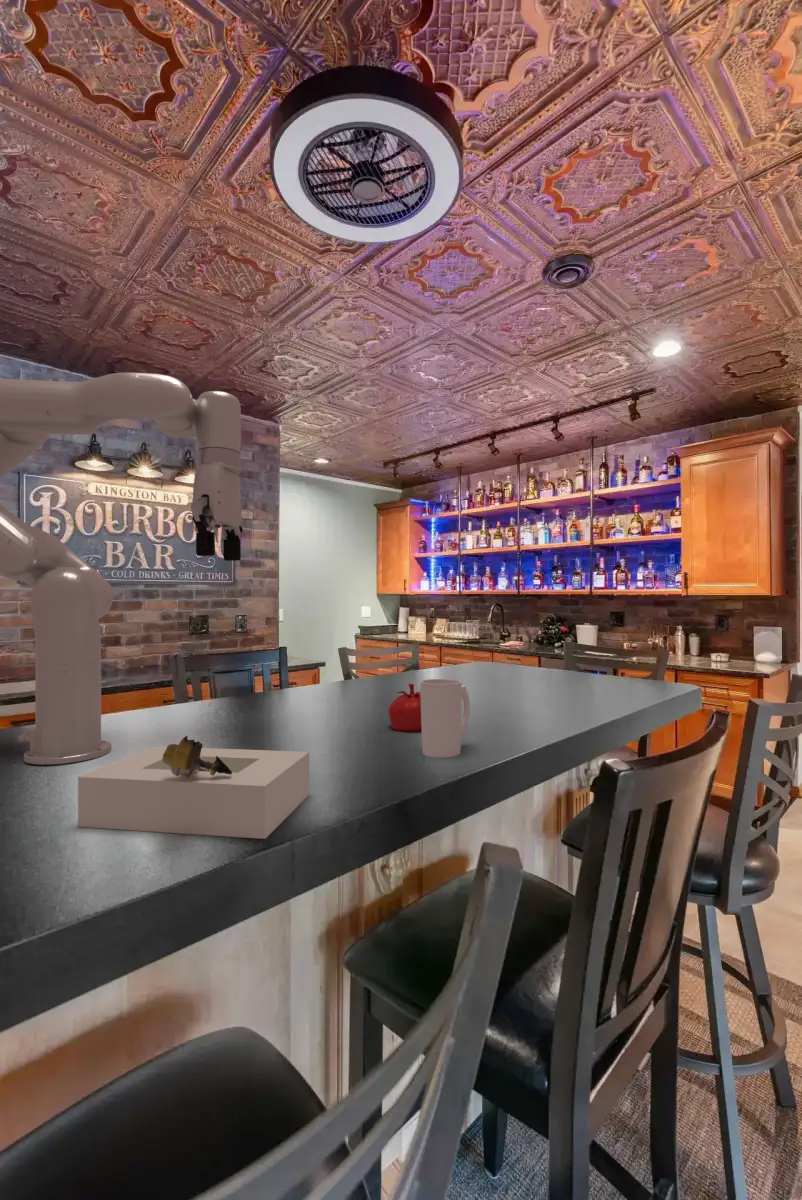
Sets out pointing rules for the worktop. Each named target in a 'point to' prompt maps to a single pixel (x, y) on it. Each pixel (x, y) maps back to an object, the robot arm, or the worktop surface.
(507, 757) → the worktop surface
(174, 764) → the regulator
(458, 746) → the mug
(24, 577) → the robot arm
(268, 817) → the stand
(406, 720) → the pomegranate
